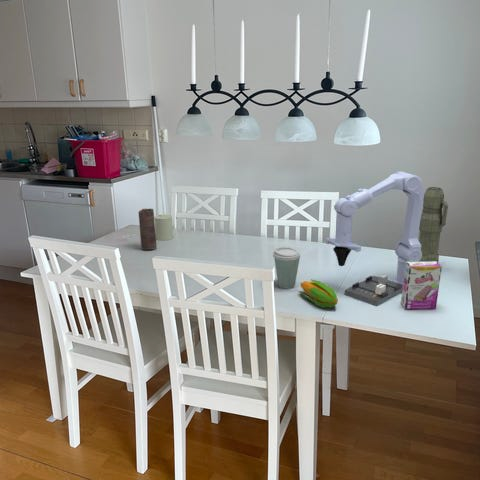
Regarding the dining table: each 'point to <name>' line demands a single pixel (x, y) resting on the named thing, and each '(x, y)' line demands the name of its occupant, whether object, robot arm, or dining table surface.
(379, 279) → the fader
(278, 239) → the dining table surface
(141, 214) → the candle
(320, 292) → the corn
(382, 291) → the fader tab
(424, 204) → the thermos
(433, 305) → the candy bar box
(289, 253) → the disposable coffee cup
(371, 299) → the console
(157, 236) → the can
